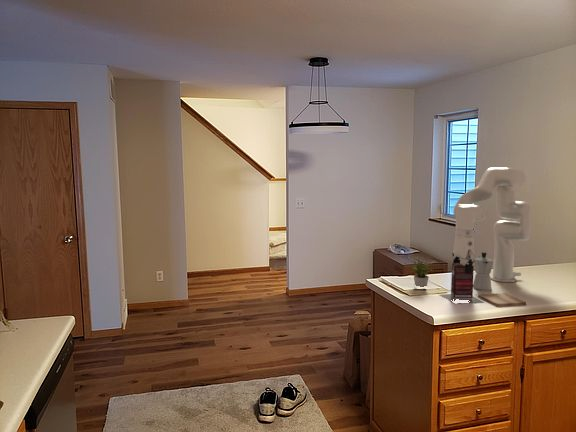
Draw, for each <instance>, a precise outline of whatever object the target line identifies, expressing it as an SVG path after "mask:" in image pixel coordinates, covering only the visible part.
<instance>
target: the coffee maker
mask: <svg viewBox="0 0 576 432" xmlns="http://www.w3.org/2000/svg"><path fill="white" fill-rule="evenodd" d="M473 264H474V272H475V275H474V278H473V290H474V289H475V290H479V291H491V290H493V289H492V281H491V280H492V279H490V275H491V273H492V270H493V264H494V259H491V258H488V257H487V252H481V256H478V257H475V260H474V262H473Z"/></svg>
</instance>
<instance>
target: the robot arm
mask: <svg viewBox="0 0 576 432" xmlns="http://www.w3.org/2000/svg"><path fill="white" fill-rule="evenodd" d="M526 179H527V176H526V173H525V172H524V170H523V169H519V168H515V167H489V168H487V169H486V170H485V171H484V173H483V174H482V176H481V178H480V180H479V181H478V182H477V185H476V187H474V188H472V189H470V190H469V191H467V192H465V193H464V194H462V195H461V196H460V197H459V198H458V200H457V201H456V203H455V204H454V208H453V216H454V218H455V233H454V235H455V237H454V241H453V248H452V249H451V252H452V253H451V254H452V259H453V260H452V261H453V264H461V259H462V260H464V261H465V263H464V264H465V273H472V265H474V260H475V258H476V254H475V239H474V231H475V230H474V228H475V222H483V221H484V220H485V219H486V218H487V215H488V211H487V208H486V207H485V206H484V205H480V204H475V203H479V202H483V201H487V200H490V199H492V198H493V196H494V195H495V193H496V215H497V217H499V218H501V219H505V220H498V221H496V222H495V223H494V225H493V227H492V228H493V237H494V246H493V247H494V248H493V251H494V253H493V264H492V274H490V279H491V280H492V281H495V282H501V283H513V282H516V281H517V278H516V277H521V276H522V273H521V272H520V271H519V272H516V271H514V262H515V245H514V244H513V242H512V240H513V241H521V242H522V241H523V242H527V241H528V240H529V239H530V237H531V233H532V207H531V205H530V203H529V202H527V201H523V200H522V201H521V200H520V201H519V200H516V192H515V191H516V190H515V188H516V187H517V188H518V187H522V186H523V185H524V184H525V182H526ZM514 187H515V188H514ZM512 220H518V221H512Z"/></svg>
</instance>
